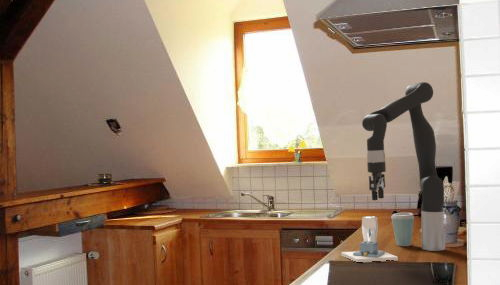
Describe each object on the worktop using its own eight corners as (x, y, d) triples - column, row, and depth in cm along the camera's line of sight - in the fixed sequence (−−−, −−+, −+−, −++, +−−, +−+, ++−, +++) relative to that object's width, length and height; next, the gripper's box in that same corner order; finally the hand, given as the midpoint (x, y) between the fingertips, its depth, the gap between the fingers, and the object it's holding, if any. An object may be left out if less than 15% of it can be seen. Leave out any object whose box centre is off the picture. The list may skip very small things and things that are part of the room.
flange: (361, 251, 244) (361, 239, 244) (384, 253, 239) (384, 241, 239) (353, 255, 235) (353, 243, 235) (376, 257, 230) (376, 245, 230)
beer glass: (378, 249, 257) (378, 216, 257) (377, 252, 250) (377, 218, 250) (362, 249, 259) (362, 215, 259) (361, 251, 252) (361, 217, 252)
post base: (380, 253, 247) (380, 238, 247) (397, 260, 231) (397, 244, 231) (341, 255, 243) (341, 240, 243) (356, 262, 227) (356, 246, 227)
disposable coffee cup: (405, 247, 260) (405, 215, 261) (386, 245, 269) (386, 213, 269) (419, 245, 267) (419, 213, 267) (400, 242, 275) (399, 211, 276)
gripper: (372, 160, 250) (374, 197, 250) (362, 162, 238) (364, 200, 238) (389, 160, 246) (391, 197, 246) (379, 161, 234) (381, 200, 234)
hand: (378, 199), depth 242 cm, fingers open, 8 cm apart
